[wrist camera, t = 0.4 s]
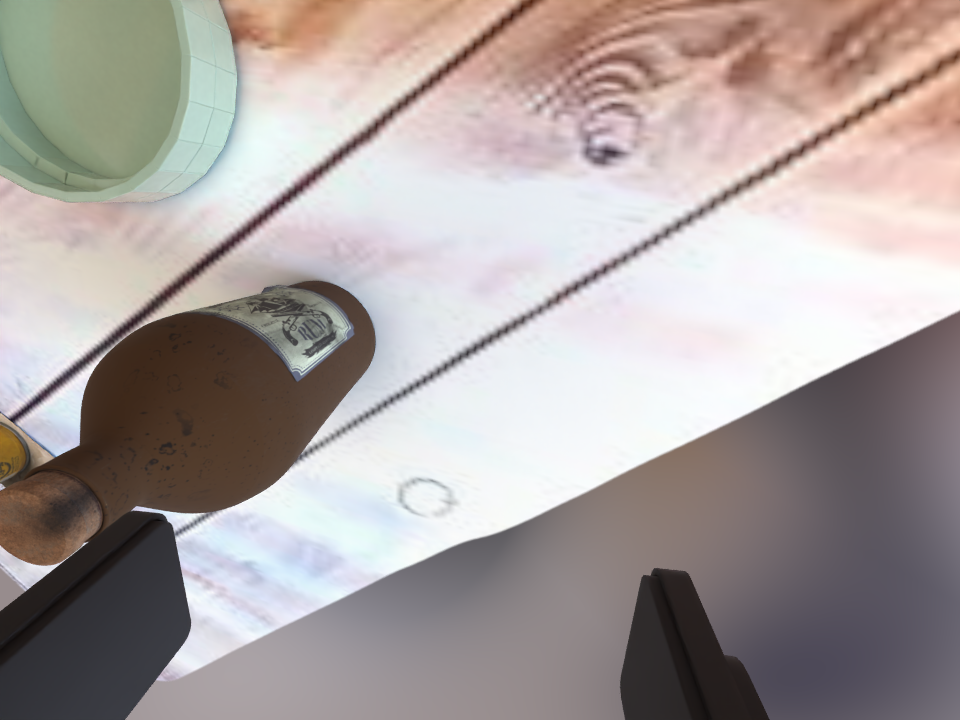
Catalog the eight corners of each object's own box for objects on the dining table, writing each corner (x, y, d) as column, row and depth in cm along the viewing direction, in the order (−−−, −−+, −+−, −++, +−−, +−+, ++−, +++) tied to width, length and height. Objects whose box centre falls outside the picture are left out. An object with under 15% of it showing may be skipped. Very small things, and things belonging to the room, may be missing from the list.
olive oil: (354, 414, 42) (134, 687, 18) (245, 357, 41) (-132, 567, 18) (404, 312, 38) (211, 486, 15) (286, 248, 38) (-114, 326, 14)
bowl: (59, -184, 30) (-39, -264, 25) (293, 55, 33) (250, 28, 28) (-54, 69, 36) (-152, 46, 31) (156, 253, 39) (99, 261, 34)
